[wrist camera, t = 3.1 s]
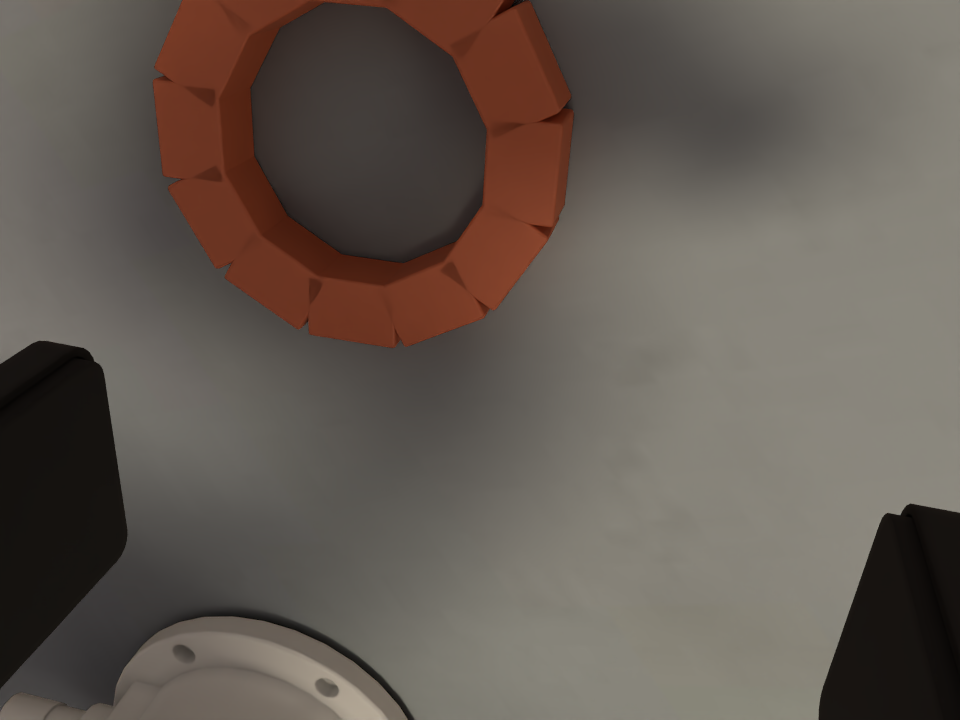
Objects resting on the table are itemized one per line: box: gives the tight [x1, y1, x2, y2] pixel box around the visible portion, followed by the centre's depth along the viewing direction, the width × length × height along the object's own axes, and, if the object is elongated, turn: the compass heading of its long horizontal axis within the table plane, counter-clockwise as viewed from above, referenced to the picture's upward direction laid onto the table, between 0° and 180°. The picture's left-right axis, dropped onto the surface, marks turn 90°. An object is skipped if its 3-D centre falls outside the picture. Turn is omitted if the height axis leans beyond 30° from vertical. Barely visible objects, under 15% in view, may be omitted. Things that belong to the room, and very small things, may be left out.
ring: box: [153, 0, 574, 348], centre depth 23 cm, size 10×10×2 cm
